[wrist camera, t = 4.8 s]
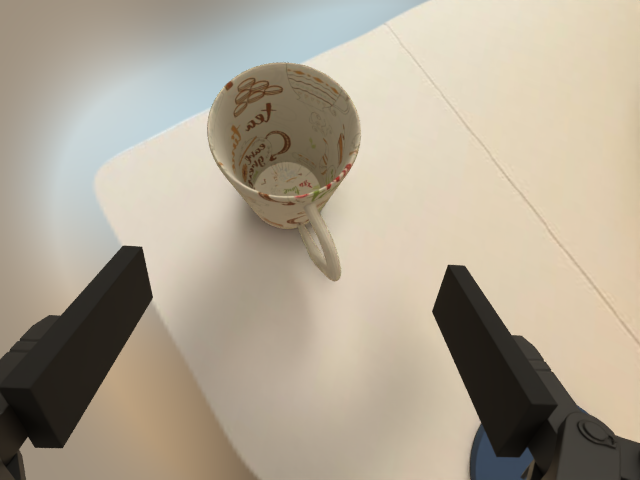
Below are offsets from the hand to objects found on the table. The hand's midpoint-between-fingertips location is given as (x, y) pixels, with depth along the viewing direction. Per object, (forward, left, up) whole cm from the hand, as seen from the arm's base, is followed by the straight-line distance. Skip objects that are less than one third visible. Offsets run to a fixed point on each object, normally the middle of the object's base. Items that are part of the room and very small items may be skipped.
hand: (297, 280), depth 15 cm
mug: (+2, +6, -12) cm, 13 cm away
